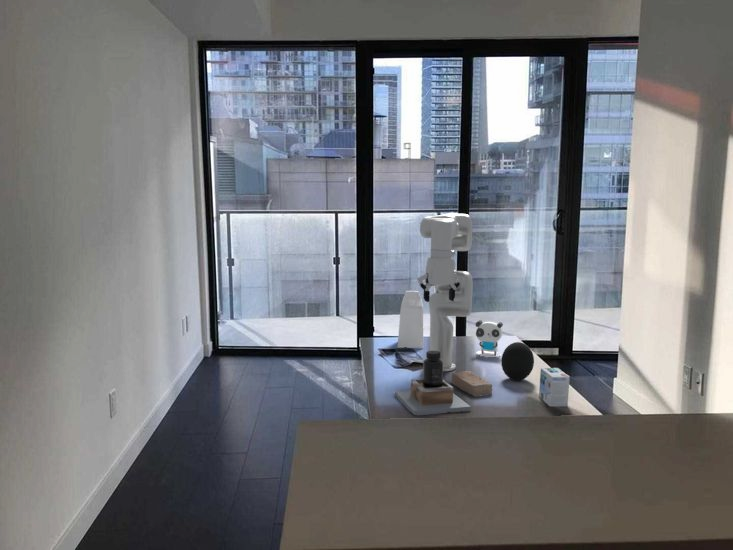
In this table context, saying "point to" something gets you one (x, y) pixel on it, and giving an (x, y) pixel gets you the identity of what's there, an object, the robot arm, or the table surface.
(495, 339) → the panda figurine
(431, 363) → the supplement bottle
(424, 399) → the plinth
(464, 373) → the brick
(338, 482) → the table surface
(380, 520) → the table surface
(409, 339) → the milk
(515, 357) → the decorative egg
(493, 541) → the table surface
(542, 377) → the light bulb box
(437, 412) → the baseplate
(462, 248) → the robot arm
